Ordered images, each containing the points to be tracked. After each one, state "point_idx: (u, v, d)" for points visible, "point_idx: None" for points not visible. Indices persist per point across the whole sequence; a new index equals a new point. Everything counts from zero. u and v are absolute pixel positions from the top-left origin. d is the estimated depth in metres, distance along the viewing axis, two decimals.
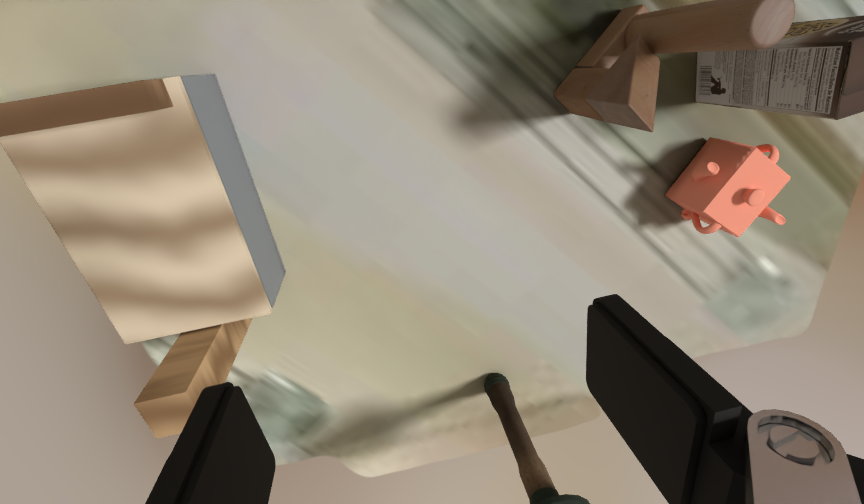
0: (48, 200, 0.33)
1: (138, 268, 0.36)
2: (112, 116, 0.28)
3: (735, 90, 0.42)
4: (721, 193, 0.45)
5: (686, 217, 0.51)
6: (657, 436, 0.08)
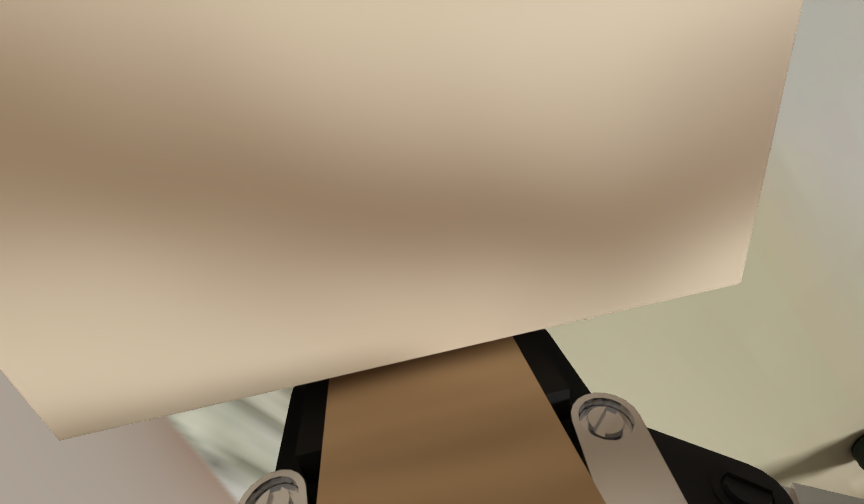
0: None
1: None
2: None
3: None
4: None
5: None
6: None
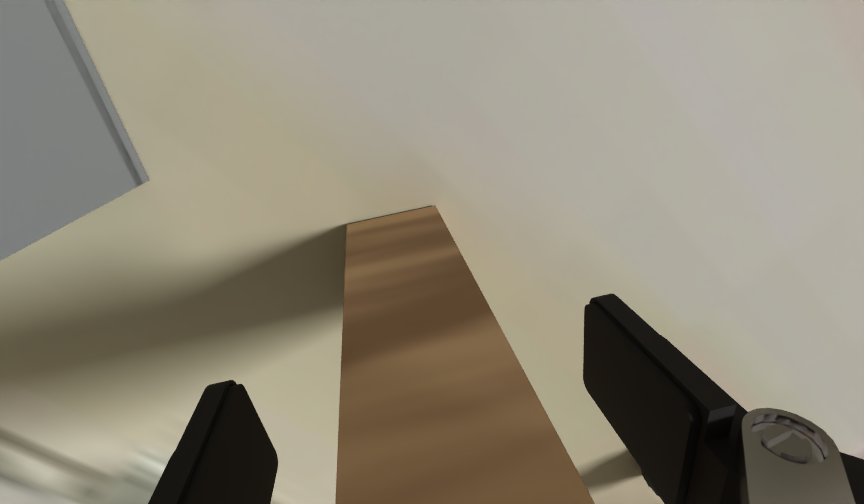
0: None
1: None
2: None
3: None
4: None
5: None
6: (653, 435, 0.08)
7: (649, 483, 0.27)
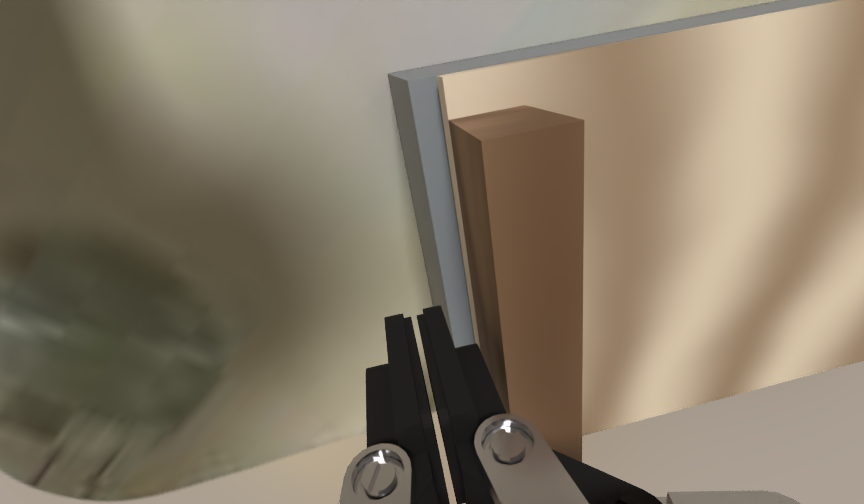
0: (669, 397, 0.16)
1: (861, 277, 0.15)
2: (579, 258, 0.09)
3: None
4: None
5: None
6: None
7: None
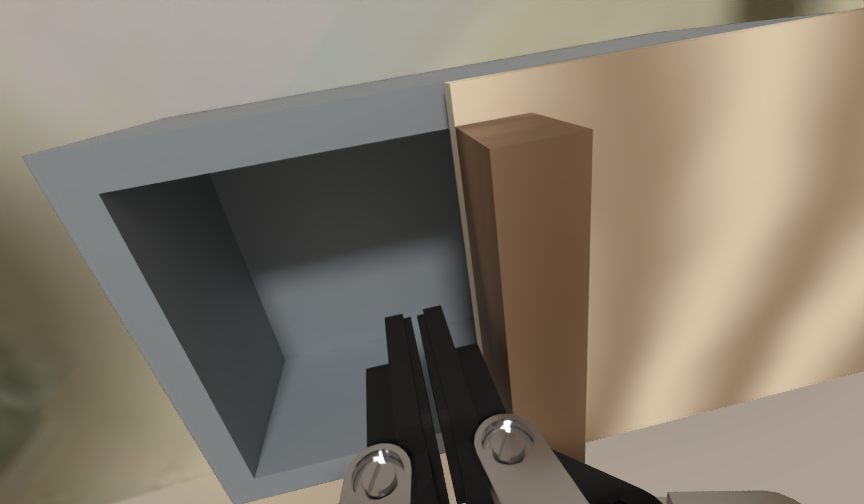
0: (671, 405, 0.16)
1: None
2: (585, 267, 0.09)
3: None
4: None
5: None
6: None
7: None
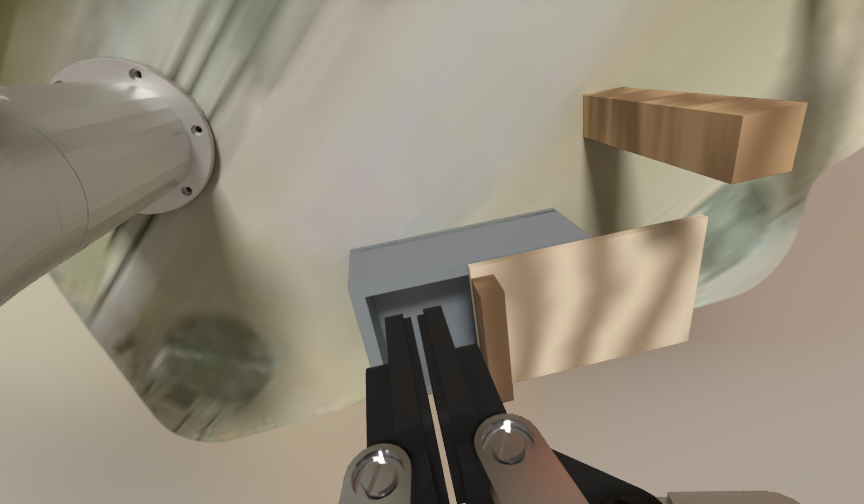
0: (554, 366, 0.40)
1: (623, 320, 0.39)
2: (506, 321, 0.33)
3: None
4: None
5: None
6: None
7: None
